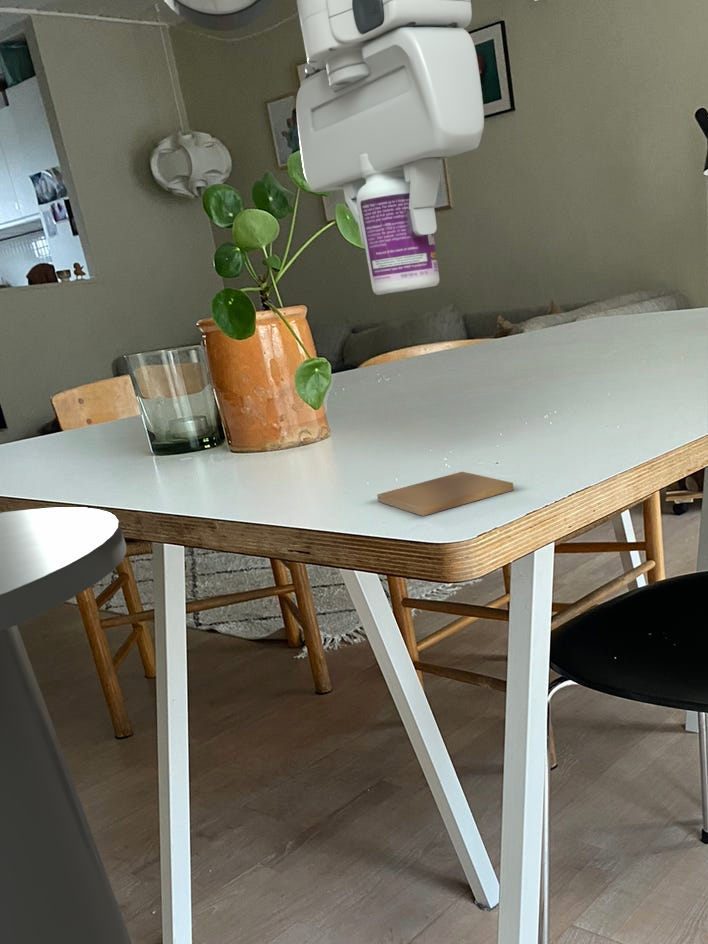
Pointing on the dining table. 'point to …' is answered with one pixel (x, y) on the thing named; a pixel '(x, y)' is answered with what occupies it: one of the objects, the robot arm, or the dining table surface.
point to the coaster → (444, 493)
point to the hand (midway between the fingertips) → (398, 240)
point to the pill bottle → (392, 234)
